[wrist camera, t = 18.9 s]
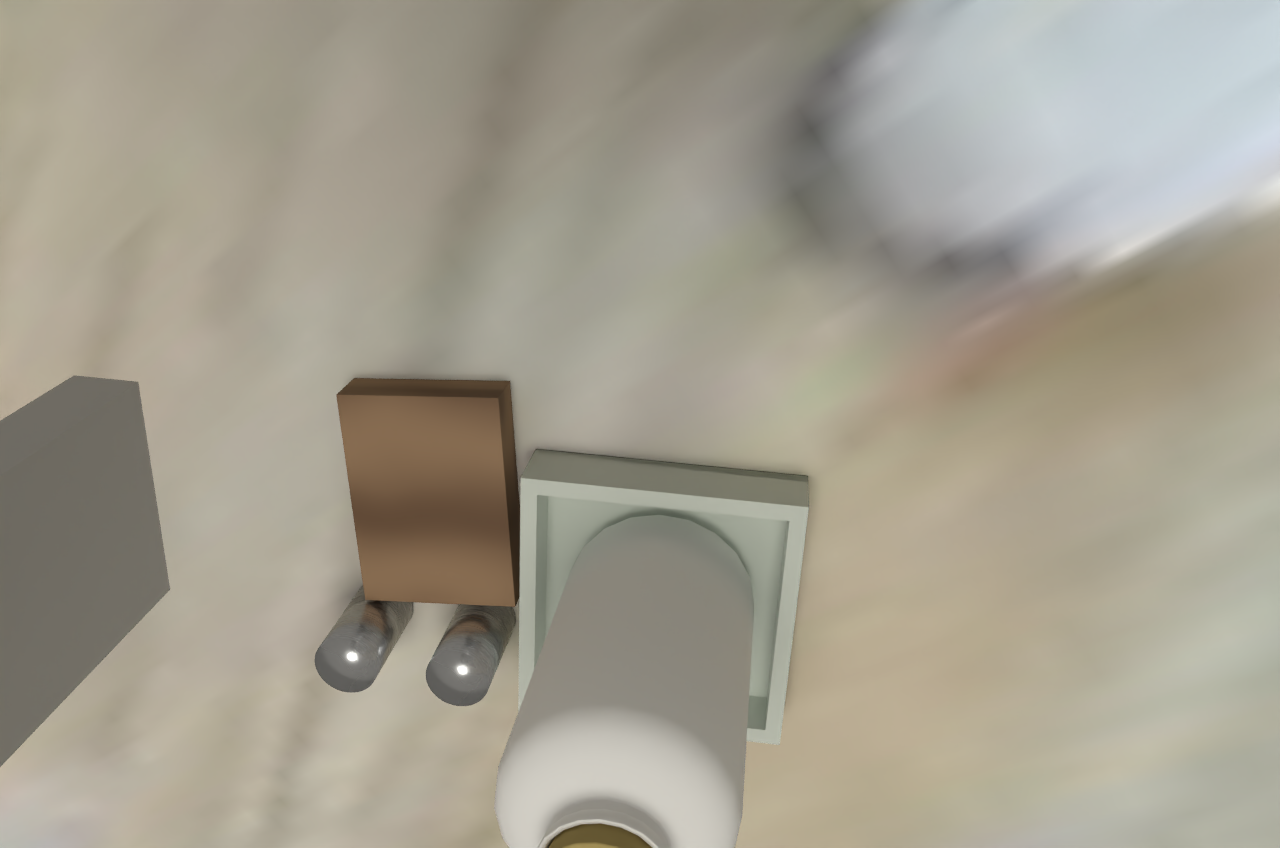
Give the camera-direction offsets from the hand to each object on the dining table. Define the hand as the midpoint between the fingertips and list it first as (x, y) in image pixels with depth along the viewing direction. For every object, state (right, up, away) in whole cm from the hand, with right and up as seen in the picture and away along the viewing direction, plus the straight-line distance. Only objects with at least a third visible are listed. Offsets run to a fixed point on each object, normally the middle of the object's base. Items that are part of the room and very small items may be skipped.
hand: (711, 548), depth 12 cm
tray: (0, -6, +38) cm, 38 cm away
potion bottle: (0, -6, +38) cm, 38 cm away
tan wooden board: (-10, -1, +38) cm, 39 cm away
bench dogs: (-11, -8, +40) cm, 42 cm away
